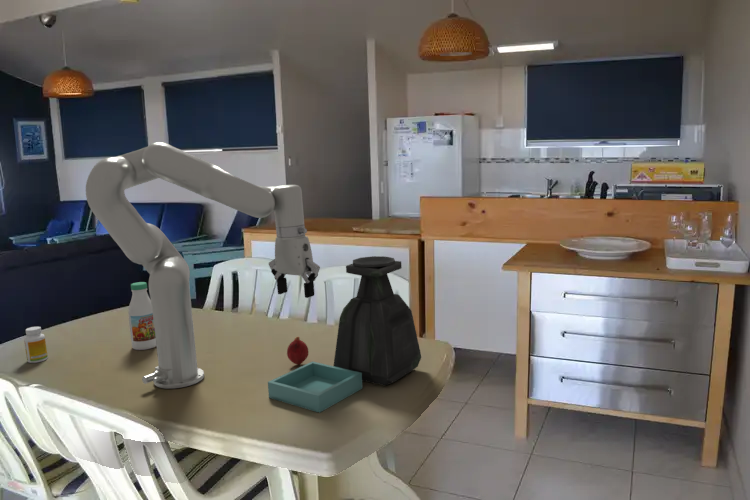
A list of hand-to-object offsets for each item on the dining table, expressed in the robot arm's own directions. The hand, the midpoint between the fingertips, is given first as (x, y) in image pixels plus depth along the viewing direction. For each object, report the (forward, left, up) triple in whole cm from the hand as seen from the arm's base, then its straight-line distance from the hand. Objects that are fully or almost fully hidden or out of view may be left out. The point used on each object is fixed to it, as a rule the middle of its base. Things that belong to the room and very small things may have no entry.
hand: (296, 294), depth 166 cm
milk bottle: (-13, +53, -20) cm, 58 cm away
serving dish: (-13, -17, -20) cm, 29 cm away
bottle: (+5, -22, -20) cm, 31 cm away
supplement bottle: (-37, +71, -20) cm, 83 cm away
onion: (-1, 0, -20) cm, 20 cm away
